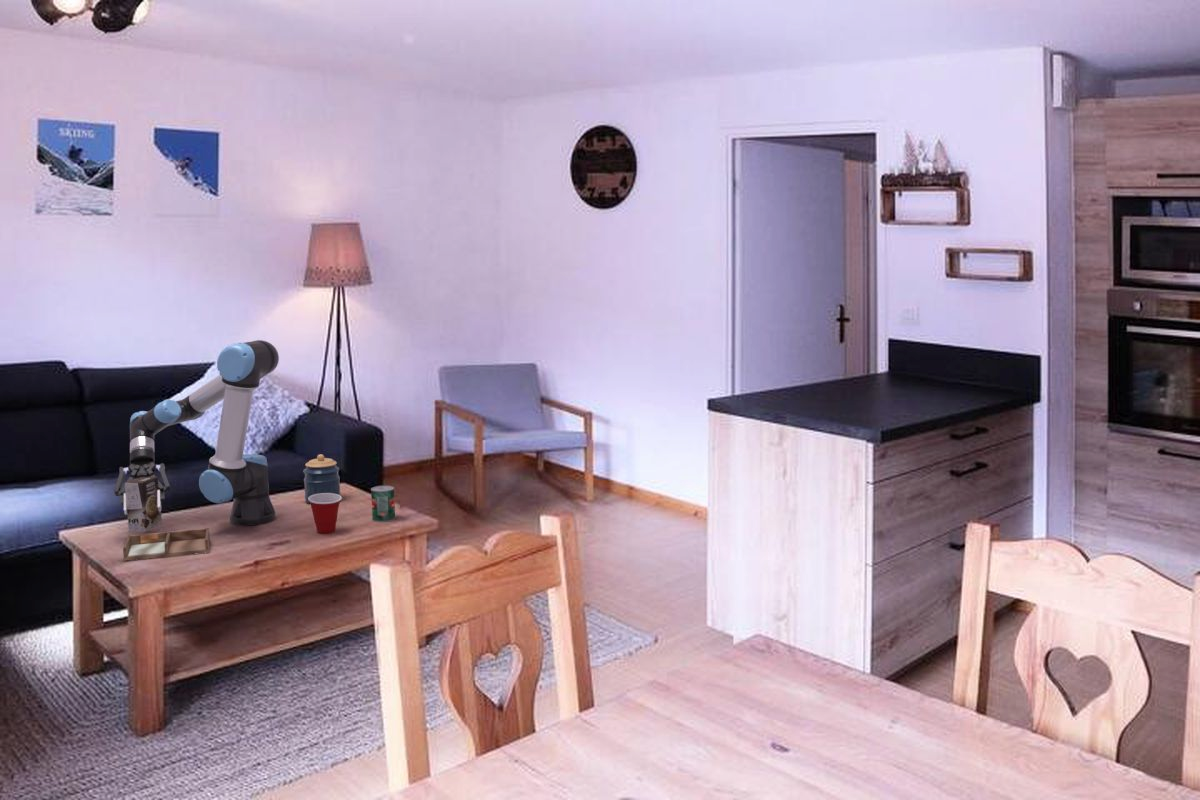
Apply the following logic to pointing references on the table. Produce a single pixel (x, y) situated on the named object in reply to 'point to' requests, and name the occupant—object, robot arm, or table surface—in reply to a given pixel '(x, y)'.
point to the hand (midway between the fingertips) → (142, 510)
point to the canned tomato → (383, 503)
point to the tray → (166, 544)
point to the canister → (321, 477)
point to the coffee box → (142, 504)
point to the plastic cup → (325, 511)
